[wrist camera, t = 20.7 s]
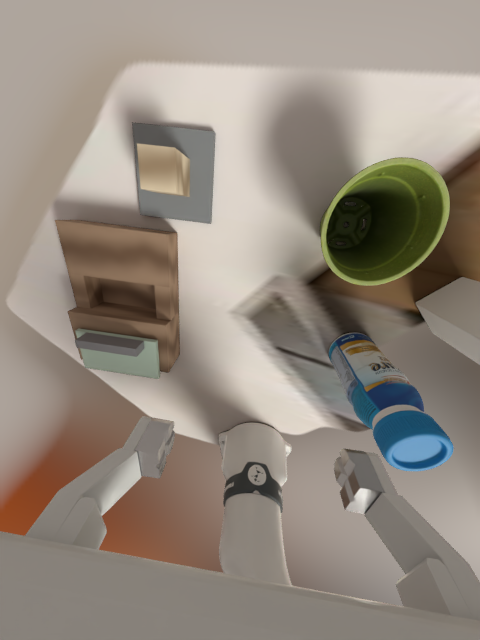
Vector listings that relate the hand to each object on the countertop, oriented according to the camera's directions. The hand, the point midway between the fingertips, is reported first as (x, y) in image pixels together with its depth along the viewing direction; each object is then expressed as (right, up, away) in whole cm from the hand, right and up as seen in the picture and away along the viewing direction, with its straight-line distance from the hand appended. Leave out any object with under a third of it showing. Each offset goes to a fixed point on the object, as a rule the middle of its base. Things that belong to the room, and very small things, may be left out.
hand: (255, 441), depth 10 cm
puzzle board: (-21, +11, +30) cm, 38 cm away
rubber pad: (-10, +27, +21) cm, 35 cm away
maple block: (-10, +26, +20) cm, 34 cm away
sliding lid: (-22, 0, +28) cm, 36 cm away
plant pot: (+15, +20, +21) cm, 33 cm away
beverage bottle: (+20, 0, +30) cm, 37 cm away
